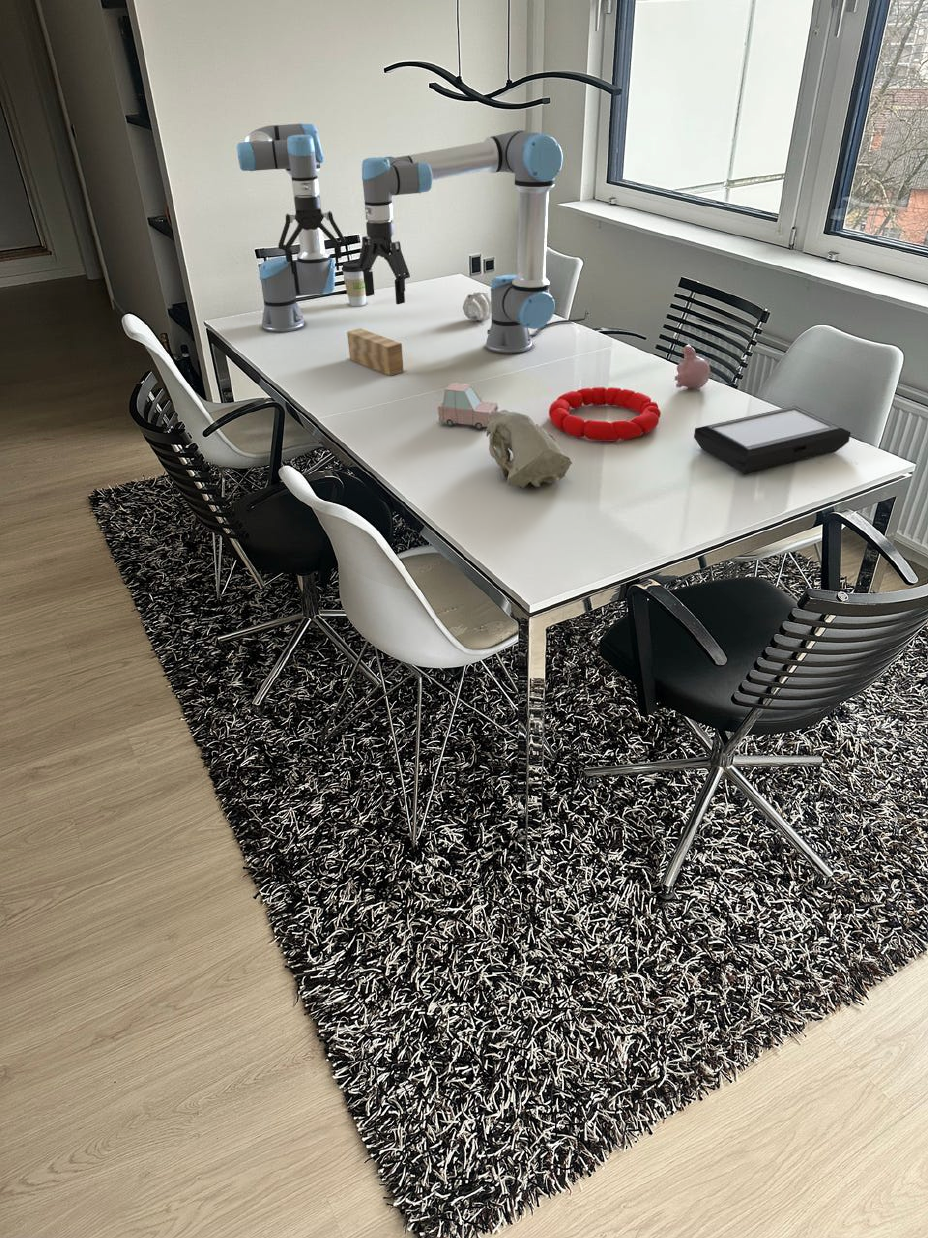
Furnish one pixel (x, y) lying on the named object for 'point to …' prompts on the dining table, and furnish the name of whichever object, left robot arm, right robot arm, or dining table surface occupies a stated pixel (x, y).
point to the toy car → (465, 406)
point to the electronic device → (771, 439)
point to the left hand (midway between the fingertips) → (315, 271)
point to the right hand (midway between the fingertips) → (385, 299)
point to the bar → (375, 351)
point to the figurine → (692, 370)
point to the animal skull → (525, 450)
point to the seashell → (477, 306)
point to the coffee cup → (354, 283)
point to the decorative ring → (604, 428)
